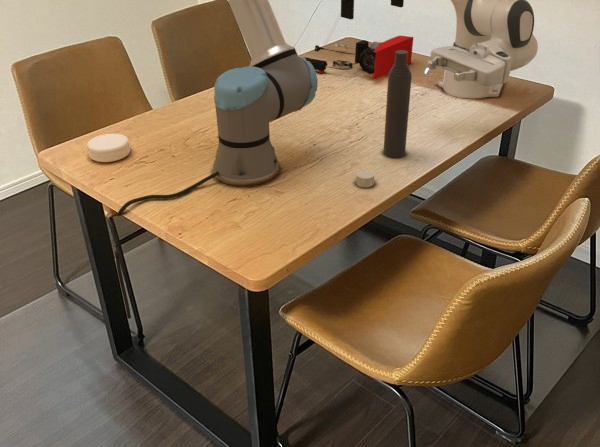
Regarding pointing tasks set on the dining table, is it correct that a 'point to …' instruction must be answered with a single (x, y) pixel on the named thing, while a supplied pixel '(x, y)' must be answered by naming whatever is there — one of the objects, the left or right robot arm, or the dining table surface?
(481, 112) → the dining table surface
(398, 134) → the bottle
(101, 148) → the white round disc
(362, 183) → the cap
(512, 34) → the right robot arm
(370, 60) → the electric hoist
